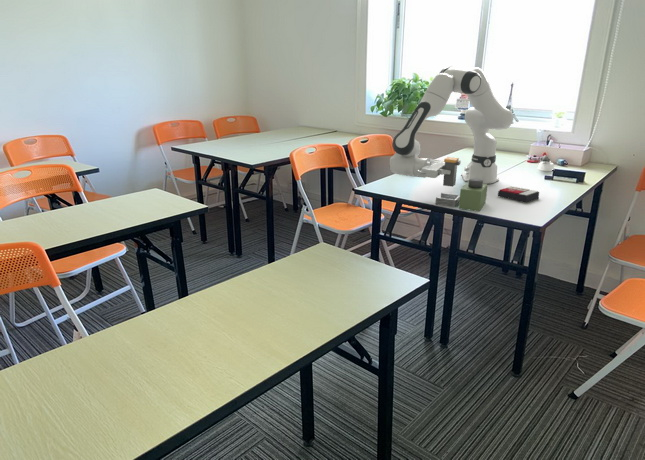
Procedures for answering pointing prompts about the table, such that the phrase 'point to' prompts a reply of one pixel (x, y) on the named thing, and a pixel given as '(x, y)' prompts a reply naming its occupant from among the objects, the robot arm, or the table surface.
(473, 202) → the green box
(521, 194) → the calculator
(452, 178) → the grey orange-topped box
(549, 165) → the inkwell
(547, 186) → the table surface
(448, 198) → the bracket
